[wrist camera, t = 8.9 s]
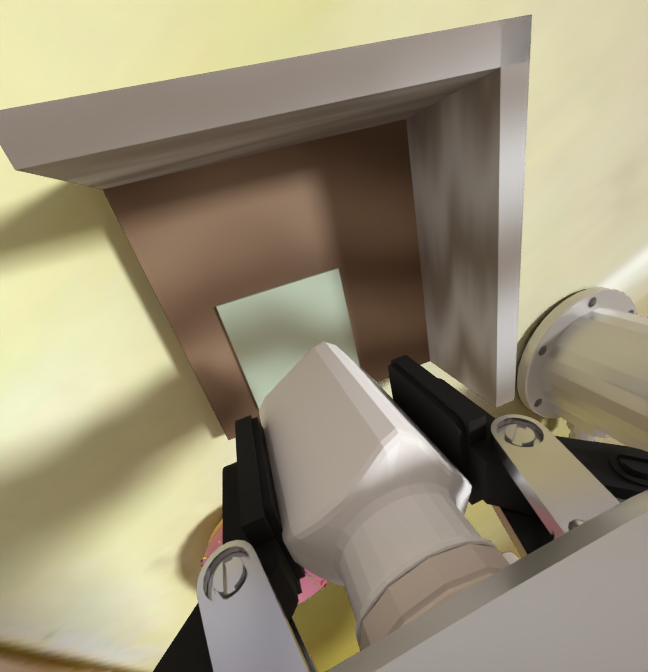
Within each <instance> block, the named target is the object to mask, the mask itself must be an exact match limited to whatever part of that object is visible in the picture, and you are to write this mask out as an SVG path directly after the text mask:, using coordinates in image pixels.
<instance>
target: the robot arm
mask: <svg viewBox="0 0 648 672" xmlns="http://www.w3.org/2000/svg"><path fill="white" fill-rule="evenodd" d="M388 372H389V378H390V384H391V389H392V395H393V400H394V401H395V402H396V403H397V404H398V406H399V407H400V408H401V409H402V410H403V411H404V412H405V413H406V414H407V415H408V416H409V417H410V418H411V420H412V421H413V422H414V423H415V424H416V425H417V426H418V427H419V428H420V429H421V430H422V431H423V432H424V433H425V435H426V436H427V437H428V438H429V439H430V440H431V441H432V442H433V443H434V444H435V445H436V446H437V447H438V448H439V450H440V451H441V452H442V453H443V454H444V455H445V456H446V457H447V458H448V459H449V460H450V461H451V462H452V464H453V465H454V466H455V467H456V468H457V469H458V470H459V471H460V472H461V473H462V474H463V475H464V476H465V477H466V479H467V480H468V481H469V482H470V484H471V486H472V488H471V493H470V496H469V500H468V501H469V502H470V503H471V504H472V505H473V504H475V503H477V502H479V501H481V500H484V501H485V502H486V503H487V504H490V505H492V507H493V509H494V510H495V512H496V514H497V516H498V518H499V519H500V521H501V523H502V525H503V526H504V528H505V530H506V532H507V534H508V535H509V537H510V539H511V541H512V542H513V544H514V546H515V548H516V549H517V551H518V553H519V555H520V557H521V559H519V560H517V561H516V562H514V563H512V564H510V565H509V566H507V567H505V568H503V569H502V570H500V571H498V572H497V573H495V574H493V575H491V576H490V577H488V578H486V579H484V580H483V581H481V582H479V583H477V584H476V585H474V586H472V587H470V588H469V589H467V590H465V591H463V592H462V593H460V594H458V595H456V596H455V597H453V598H451V599H450V600H448V601H446V602H444V603H443V604H441V605H439V606H437V607H436V608H434V609H432V610H430V611H429V612H427V613H425V614H423V615H422V616H420V617H418V618H417V619H415V620H413V621H411V622H410V623H408V624H406V625H404V626H403V627H401V628H399V629H398V630H396V631H394V632H392V633H391V634H389V635H387V636H386V637H384V638H382V639H380V640H379V641H377V642H375V643H374V644H372V645H370V646H368V647H367V648H365V649H363V650H362V651H360V652H358V653H356V654H355V655H353V656H351V657H350V658H348V659H346V660H344V661H343V662H341V663H339V664H338V665H336V666H334V667H332V668H331V669H329V670H327V671H325V672H648V317H644V316H640V315H637V312H636V308H635V305H634V303H633V302H632V300H631V298H630V297H629V296H627V295H626V294H625V293H624V292H621V291H618V290H615V289H609V288H603V287H597V288H589V289H586V290H583V291H580V292H578V293H576V294H574V295H573V296H571V297H569V298H567V299H566V300H564V301H563V302H562V303H560V304H559V305H558V306H556V307H555V308H554V309H553V310H552V311H551V312H550V313H549V314H548V315H547V316H546V317H545V318H544V319H543V321H542V322H541V323H540V325H539V326H538V327H537V328H536V330H535V331H534V333H533V335H532V336H531V338H530V339H529V341H528V343H527V345H526V347H525V350H524V352H523V354H522V357H521V360H520V364H519V367H518V374H517V390H518V393H519V397H520V399H521V401H522V402H523V404H524V405H525V406H526V407H527V408H528V409H530V410H531V411H533V412H535V413H536V414H538V415H540V416H541V417H546V418H560V417H561V418H563V419H564V420H566V421H567V424H566V425H567V427H568V428H569V429H570V430H571V432H570V434H569V438H566V437H559V436H554V435H553V434H552V433H551V432H550V431H549V430H548V429H547V428H546V427H545V426H544V425H543V424H541V423H540V422H539V421H537V420H535V419H533V418H531V417H527V416H524V415H517V414H508V415H503V416H500V417H498V418H496V419H495V418H494V417H492V416H491V415H490V414H488V413H487V412H486V411H484V410H483V409H482V408H480V407H479V406H478V405H476V404H475V403H474V402H472V401H471V400H470V399H468V398H467V397H466V396H464V395H463V394H462V393H460V392H459V391H457V390H456V389H455V388H453V387H452V386H451V385H449V384H448V383H447V382H445V381H444V380H442V379H440V378H436V377H435V376H434V375H432V374H431V373H430V372H428V371H427V370H426V369H425V368H423V367H422V366H421V365H419V364H418V363H417V362H415V361H414V360H413V359H411V358H410V357H409V356H407V355H403V356H400V357H397V358H395V359H392V360H391V364H390V365H388ZM235 435H236V452H237V462H235V463H233V464H231V465H228V466H226V467H224V468H223V530H222V546H220V547H219V548H218V549H217V550H215V551H214V552H213V553H212V554H211V555H210V557H209V558H208V559H207V561H206V562H205V563H204V565H203V567H202V569H201V572H200V574H199V577H198V581H197V586H196V588H197V599H198V604H197V605H196V607H195V608H194V610H193V611H192V613H191V614H190V616H189V617H188V619H187V621H186V622H185V624H184V625H183V627H182V628H181V630H180V631H179V633H178V634H177V636H176V637H175V639H174V640H173V642H172V643H171V645H170V646H169V648H168V649H167V651H166V652H165V654H164V655H163V657H162V659H161V660H160V662H159V663H158V665H157V666H156V668H155V669H154V671H153V672H318V670H317V668H316V666H315V664H314V661H313V659H312V657H311V655H310V653H309V651H308V648H307V646H306V644H305V642H304V640H303V638H302V636H301V633H300V631H299V629H298V627H297V625H296V623H295V620H294V618H293V614H294V611H295V609H296V607H297V605H298V602H299V599H298V595H299V594H301V593H302V588H301V584H300V579H301V578H303V577H305V570H304V567H302V566H301V565H299V564H298V563H296V562H295V561H294V559H293V558H292V556H291V554H290V552H289V551H288V549H287V547H286V545H285V543H284V542H283V538H282V532H283V529H282V524H281V518H280V513H279V508H278V503H277V498H276V492H275V487H274V482H273V477H272V471H271V466H270V461H269V456H268V450H267V445H266V440H265V435H264V430H263V427H262V425H261V423H260V420H259V418H258V417H255V418H252V416H251V415H249V416H246V417H244V418H241V419H239V420H236V421H235ZM596 436H598V437H601V438H608V437H612V438H614V439H616V440H617V441H619V442H621V443H623V444H624V445H626V446H621V445H614V444H607V443H600V442H595V437H596Z"/></svg>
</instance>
